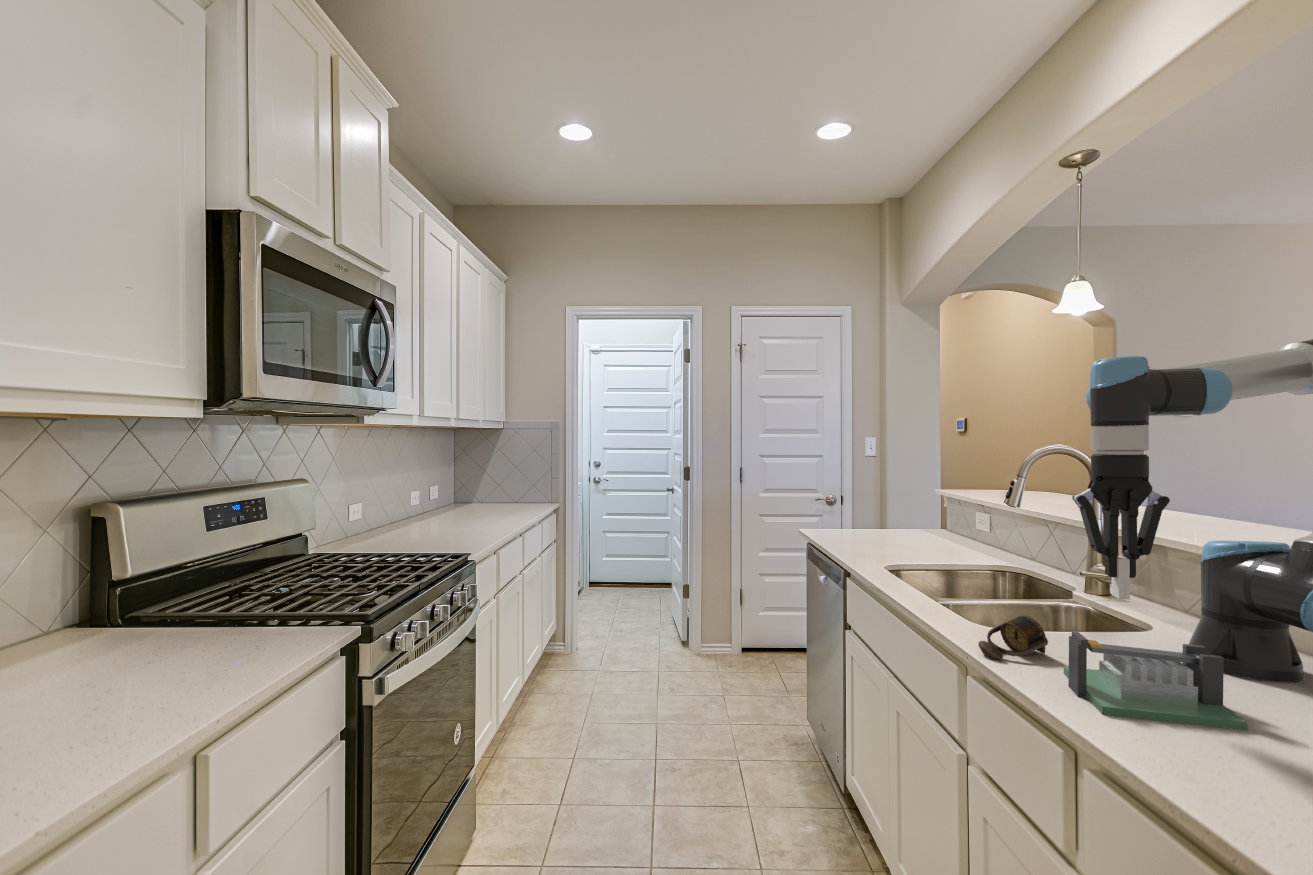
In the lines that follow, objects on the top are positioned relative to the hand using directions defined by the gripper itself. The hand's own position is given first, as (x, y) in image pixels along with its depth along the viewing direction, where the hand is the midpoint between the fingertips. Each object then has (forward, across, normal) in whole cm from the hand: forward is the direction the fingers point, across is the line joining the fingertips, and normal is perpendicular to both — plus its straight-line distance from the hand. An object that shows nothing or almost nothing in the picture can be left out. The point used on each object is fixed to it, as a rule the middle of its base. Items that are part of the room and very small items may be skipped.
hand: (1120, 596), depth 98 cm
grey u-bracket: (+15, -11, 0) cm, 19 cm away
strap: (+9, -3, 0) cm, 10 cm away
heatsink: (+15, -3, 0) cm, 15 cm away
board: (+16, -3, 0) cm, 17 cm away
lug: (+16, +6, 0) cm, 17 cm away
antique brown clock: (+17, +12, -16) cm, 26 cm away
